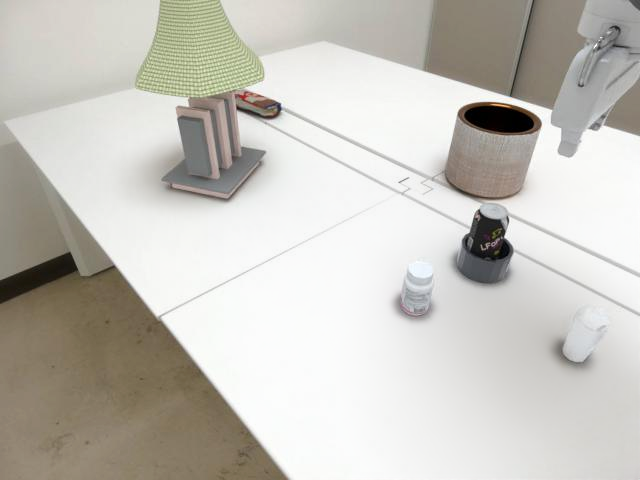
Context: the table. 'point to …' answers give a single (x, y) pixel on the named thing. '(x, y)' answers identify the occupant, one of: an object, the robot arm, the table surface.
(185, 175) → the desk lamp
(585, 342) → the milkshake
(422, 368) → the table surface
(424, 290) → the pill bottle
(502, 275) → the can holder
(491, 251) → the beverage can
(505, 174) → the planter
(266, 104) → the pencil case
